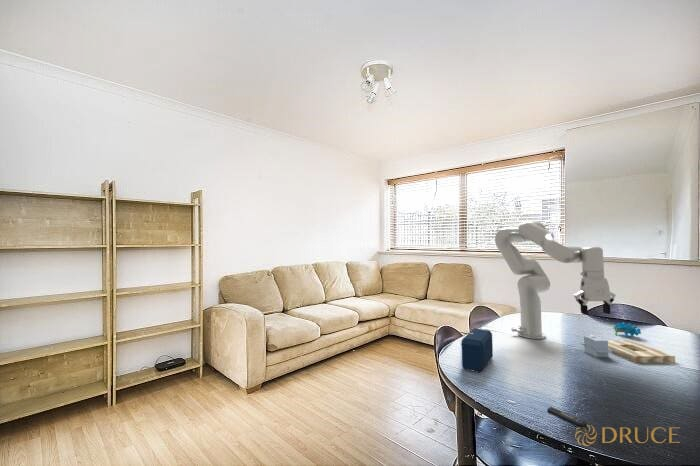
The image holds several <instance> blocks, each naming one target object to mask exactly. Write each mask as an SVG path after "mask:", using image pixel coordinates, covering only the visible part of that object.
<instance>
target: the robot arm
mask: <svg viewBox="0 0 700 466" xmlns="http://www.w3.org/2000/svg"><path fill="white" fill-rule="evenodd" d="M527 241H530V242H532V243H534V244H536V245H538V246H539V247H541V249H542V250H543V252H544V253H545V254H546V255H548V256H549V257H551V258H552V259H554V260H556V261H559V262H560V263H564V264H576V263H577V264H579V263H581V265H582V266H581V267H582V271H580V273H579V274H580V275H581V276H582V277H581V279H580V287H579V288H580V291H578V292H577V293H575V294H573V297H574V300H575V301H576V302H577V303H578V304H579V306H580V313H581V314H582V315H587V316H588V315H589V309H588V305H587V304H588V303H589V302H602V313H603V314H607V315H611V305H612V304H613V302H614V301H615V297H616V294H615V293H613V292H611V291H610V285H609V282H608V279H607V278H606V277H605V268H604V266H605V263H604V251H603V248H602V247H600V246H586V247H584V246H565V245H563V244H561V243H559V242H558V241H555V235H554V233H553V232H552V231H549V230H547V229H546V226H545V225H544V224H543V223H542V222H540V221H539V222H538V221H524V222H522V223H521V224H520V225H519V226H518V227H502V228H501V229H499V230H497V232H496V234H495V237H494V242H495V243H494V244H495V246H496V248H497V249H498V251H499V252H500V254H501V255H502V257H503V258H504V260H505V262H506V264H507V266H508V267H509V269H510V271H511V272H512V273H513V274H514V275H515V276H522V277H520V278H519V279H518V281H517V290H518V293H519V294H518V295H519V304H520V306H519V309H520V312H519V313H520V325H518V327H512V328H511V331H512V332H514V333H515V332H516V333H517V335H519V336H520V337H522V338H526V339H533V340H542V339H545V338H546V334H545V333H544V332H543V327H542V304H541V303H542V301H541V299H540V295H539V294H540V293H546V292H547V291H549V290H550V288H551V281H550V279H549V277H548V276H547V274H546V272H545V271H544V270H543V268H542V266H541V265H540V263H539V262H538V261H537V260H536V259H534V258H531V257H524V256H523V255H522V254H521V253H520V250H519V249H518V248H517V247H516V246H515V245H514V244H515V243H524V242H527ZM513 243H514V244H513Z"/></svg>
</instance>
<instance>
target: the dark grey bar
mask: <svg viewBox="0 0 700 466" xmlns="http://www.w3.org/2000/svg"><path fill="white" fill-rule="evenodd" d="M546 411H547V413H549V414H551V415H553V416H556V417H558V418H560V419H562V420H564V421H566V422H569V423H571V424H573V425H574V426H577V427H579V428H586V427H587V426H588V424H587V422H586V421H585V420H583V419H580V418H578V417H576V416H573V415H572V414H569V413H567V412H564V411H561V410H560V409H557V408H555V407H553V406H549V407H548V408H547V410H546ZM585 426H586V427H585Z"/></svg>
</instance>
